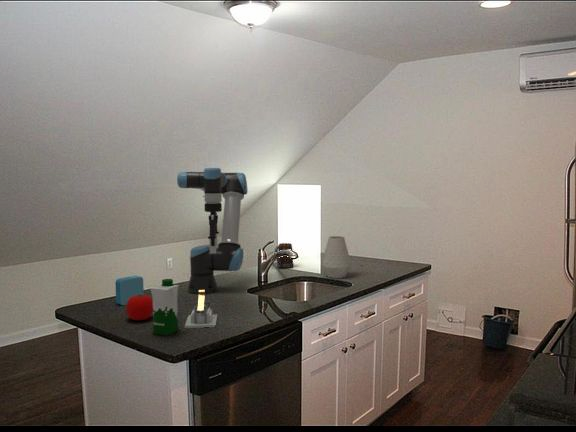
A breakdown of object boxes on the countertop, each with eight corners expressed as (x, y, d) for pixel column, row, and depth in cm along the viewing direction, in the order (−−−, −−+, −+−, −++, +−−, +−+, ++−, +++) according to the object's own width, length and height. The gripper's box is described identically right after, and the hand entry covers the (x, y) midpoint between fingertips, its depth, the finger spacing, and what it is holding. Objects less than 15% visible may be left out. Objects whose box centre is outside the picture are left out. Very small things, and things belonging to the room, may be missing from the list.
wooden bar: (198, 293, 204) (198, 290, 203) (205, 293, 205) (205, 290, 203) (196, 314, 196) (196, 310, 195) (204, 313, 197) (203, 310, 195)
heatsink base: (188, 317, 208) (188, 299, 207) (217, 316, 209) (216, 298, 208) (184, 328, 194) (184, 308, 193) (215, 327, 195) (215, 307, 194)
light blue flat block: (138, 299, 237) (138, 274, 235) (144, 300, 234) (143, 276, 232) (115, 304, 228) (115, 279, 226) (121, 306, 225) (120, 280, 223)
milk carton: (181, 329, 192) (180, 279, 190) (168, 337, 183) (166, 284, 182) (162, 327, 195) (161, 277, 193) (148, 334, 187) (147, 282, 185)
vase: (343, 272, 297) (343, 234, 294) (356, 278, 280) (356, 238, 278) (316, 274, 291) (316, 235, 289) (328, 280, 275) (328, 240, 273)
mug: (283, 265, 319) (283, 242, 318) (296, 266, 313) (296, 243, 312) (268, 269, 307) (268, 245, 305) (282, 271, 301) (282, 246, 299)
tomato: (127, 324, 198) (127, 299, 197) (124, 316, 209) (124, 292, 208) (156, 321, 202) (155, 296, 201) (152, 313, 214) (151, 289, 213)
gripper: (206, 200, 229) (207, 246, 231) (202, 205, 205) (203, 255, 207) (222, 200, 230) (223, 245, 232) (220, 204, 206) (221, 255, 208)
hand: (213, 250), depth 220 cm, fingers open, 12 cm apart
